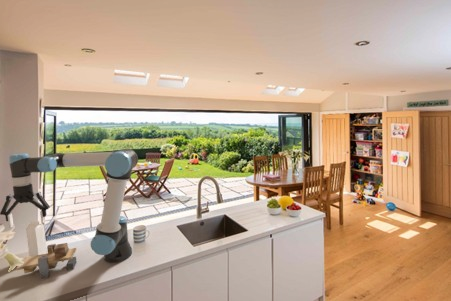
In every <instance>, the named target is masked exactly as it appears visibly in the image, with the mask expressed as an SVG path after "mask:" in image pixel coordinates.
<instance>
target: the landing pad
mask: <svg viewBox="0 0 451 301" xmlns="http://www.w3.org/2000/svg"><path fill="white" fill-rule="evenodd" d="M76 264H77V256H73V258H72V259H69V260H67V263H66V271H72V270H74V269H75V266H76Z"/></svg>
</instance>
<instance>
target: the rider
mask: <svg viewBox="0 0 451 301" xmlns="http://www.w3.org/2000/svg"><path fill="white" fill-rule="evenodd" d="M68 248H69V246H68V242H64V243H59V244H56V246H55V248H54V254H55V258H58V257H63V256H66V255H67V253H68Z"/></svg>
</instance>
